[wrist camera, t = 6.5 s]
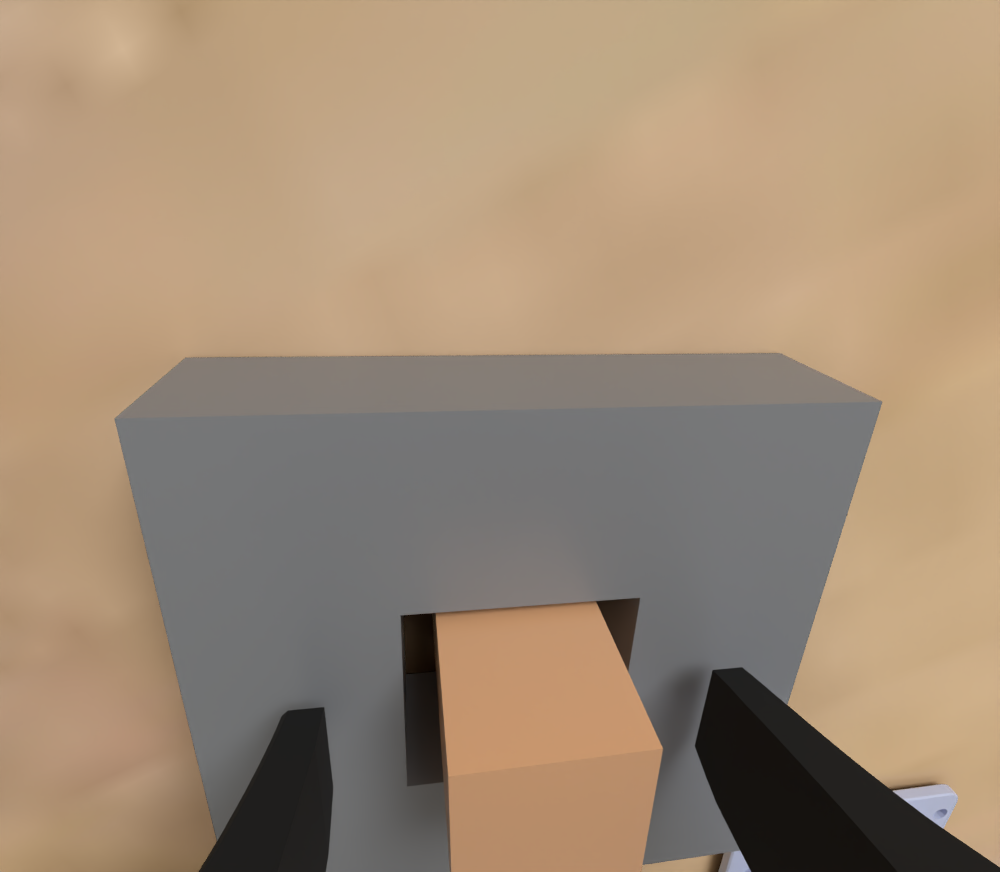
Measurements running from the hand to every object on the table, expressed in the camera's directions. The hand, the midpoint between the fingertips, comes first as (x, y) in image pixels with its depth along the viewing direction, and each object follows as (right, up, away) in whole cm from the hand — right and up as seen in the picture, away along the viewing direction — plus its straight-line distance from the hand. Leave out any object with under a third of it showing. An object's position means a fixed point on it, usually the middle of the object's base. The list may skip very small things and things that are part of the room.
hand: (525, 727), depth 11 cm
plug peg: (-1, +2, +3) cm, 4 cm away
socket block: (-1, +1, +3) cm, 4 cm away
